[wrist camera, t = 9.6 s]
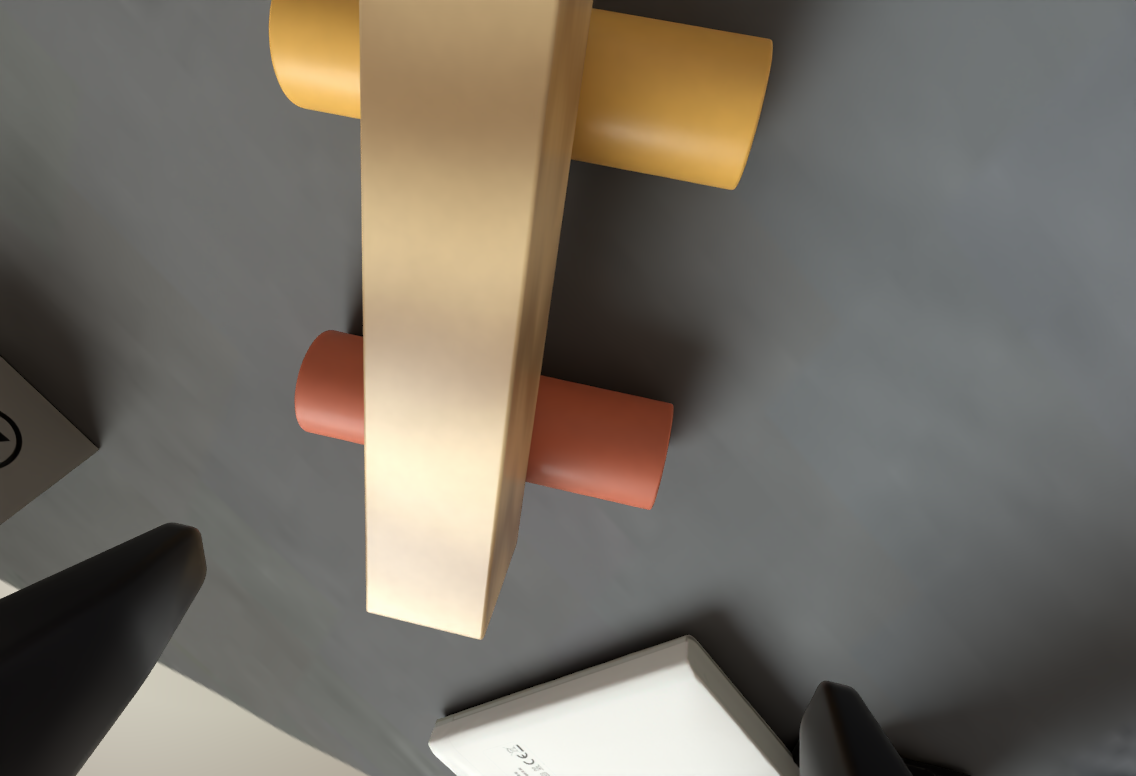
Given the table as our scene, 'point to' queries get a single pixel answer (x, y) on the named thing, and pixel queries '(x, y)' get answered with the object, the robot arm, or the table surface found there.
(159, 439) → the table surface
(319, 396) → the terracotta rod
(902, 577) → the table surface
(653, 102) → the ochre rod
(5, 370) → the dice cube
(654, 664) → the hard drive
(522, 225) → the light wooden bar
